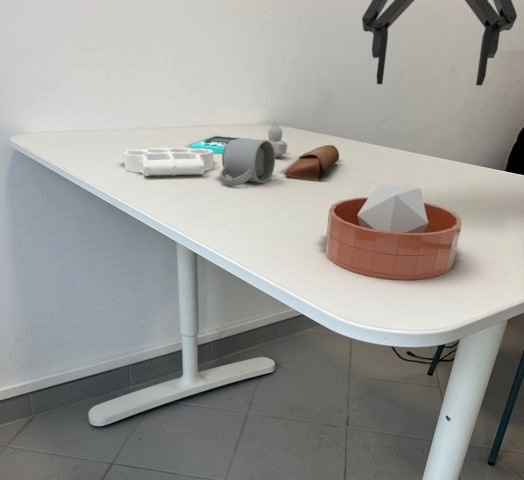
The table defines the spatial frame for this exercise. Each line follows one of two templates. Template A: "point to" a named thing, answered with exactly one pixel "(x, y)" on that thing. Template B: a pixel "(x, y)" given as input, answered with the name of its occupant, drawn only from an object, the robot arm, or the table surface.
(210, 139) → the handheld game console
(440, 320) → the table surface
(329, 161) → the sunglasses case
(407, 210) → the die
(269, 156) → the ceramic mug
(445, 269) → the bowl
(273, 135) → the grey rounded figure
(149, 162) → the white compartment tray
